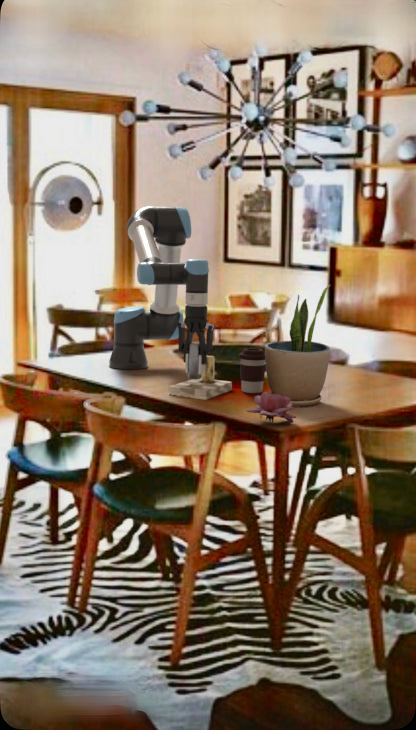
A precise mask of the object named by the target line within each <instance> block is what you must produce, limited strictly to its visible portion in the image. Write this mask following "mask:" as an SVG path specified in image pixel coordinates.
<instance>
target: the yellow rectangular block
mask: <svg viewBox="0 0 416 730" xmlns="http://www.w3.org/2000/svg"><path fill="white" fill-rule="evenodd" d="M215 358H216V357H215V356H214V355H207V363H206V364H204V373H203V374H201V378H202V381H201V383H207V384H213V383H214V380H215V360H216V359H215Z"/></svg>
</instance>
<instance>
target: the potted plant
mask: <svg viewBox="0 0 416 730" xmlns="http://www.w3.org/2000/svg"><path fill="white" fill-rule="evenodd" d="M330 286H331V284H329V285H327V286H325V288H324V289H323V291H322V292H321V296H319V297H320V298H319V299H318V302H317V306H316V309H315V313H314V317H313V319H312V321H311V324H310V326H309V329H308V332H307V327H308V322H309V307H308V303H307V298H305V299H304V300H303V301H302V302H301V305H300V308H299V301H300V295H299V294H297V301H296V306H295V309H294V313H293V318H292V321H291V322H290V326H289V328H290V329H289V337H290V340H283V341H274V342H270V343H269V342H267V343H266V344H265V345H264V353H265V365H266V366H265V372H266V378H267V379H266V380H267V384H268V387H269V389H270V393H271V394H278V395H280V396H284V397H285V396H286V397H288V398H290V399H291V401H290V402H289V404H290V403H292V407H294V408H295V407H296V408H297V407H298V408H299V407H300V406H303V407H311V406H315V405H316V404H318V403H319V402H320V401H322V395H321V392H322V391H323V389H324V386H325V382H326V379H327V373H328V368H329V363H330V362H329V360H330V347H329V345H327V344H324V343H320V342H316V341H312V340H313V335H314V334H313V333H314V329H315V324H316V321H317V320H316V319H317V315H318V313H319V312H320V310H321V307H322V306H323V303H324V299H325V296H326V294H327V291H328V289H329V288H330ZM306 334H307V340H306ZM300 408H301V407H300Z"/></svg>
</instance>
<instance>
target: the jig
mask: <svg viewBox="0 0 416 730" xmlns="http://www.w3.org/2000/svg"><path fill="white" fill-rule="evenodd" d="M201 381H202V377H201V379H188V380H186V381H181V382H179V383H175V384H172V385H170V386H169V388H168V389H169V394H171V395H170V396H173V395H177V396H176V397H181V396H183V397H182V398H189V397H190V399H197V400H199V399H200V400H204V401H205V400H209V399H211V398H214V397H216V396H219V395H222V394H224V393H228V392H230V391H231V392H232V389H233V386H232V385H233V381H228V380H218V379H214V383H213V384H207V383H201ZM169 394H168V395H169Z"/></svg>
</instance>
